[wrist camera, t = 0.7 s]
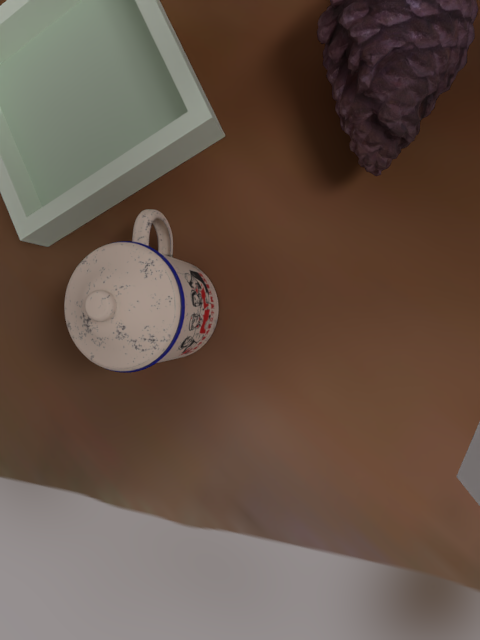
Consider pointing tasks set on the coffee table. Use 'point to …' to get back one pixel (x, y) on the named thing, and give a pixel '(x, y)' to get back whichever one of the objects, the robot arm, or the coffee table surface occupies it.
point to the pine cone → (391, 67)
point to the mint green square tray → (91, 109)
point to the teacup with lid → (139, 302)
